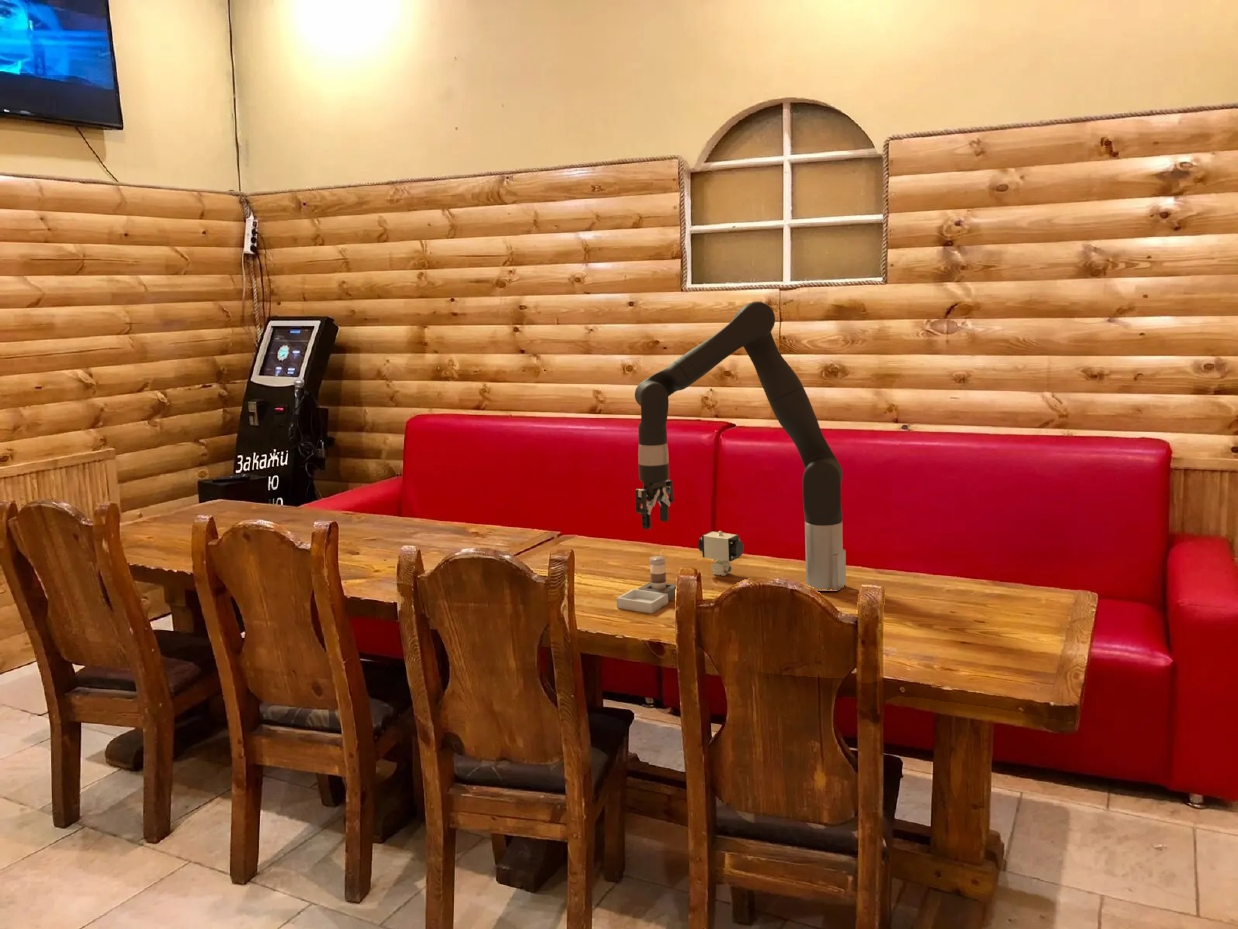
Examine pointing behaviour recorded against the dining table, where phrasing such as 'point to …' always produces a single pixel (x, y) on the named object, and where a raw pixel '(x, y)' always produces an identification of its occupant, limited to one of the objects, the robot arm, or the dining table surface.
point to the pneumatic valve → (721, 550)
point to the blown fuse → (658, 573)
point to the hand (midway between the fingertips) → (655, 524)
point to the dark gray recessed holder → (669, 590)
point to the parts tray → (642, 600)
